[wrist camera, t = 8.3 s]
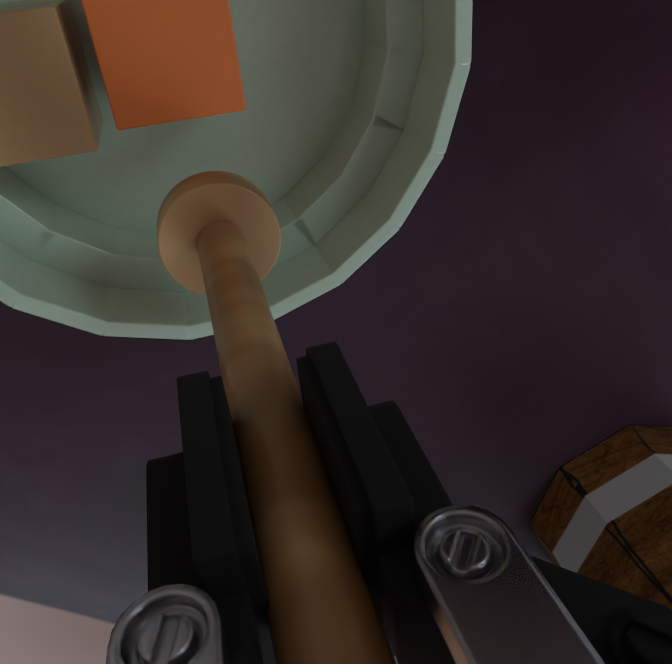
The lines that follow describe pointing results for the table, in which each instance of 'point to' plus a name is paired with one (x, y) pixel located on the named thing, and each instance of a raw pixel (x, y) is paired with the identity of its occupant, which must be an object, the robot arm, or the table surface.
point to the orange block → (165, 59)
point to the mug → (614, 513)
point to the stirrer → (271, 425)
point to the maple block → (44, 85)
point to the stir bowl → (246, 164)
